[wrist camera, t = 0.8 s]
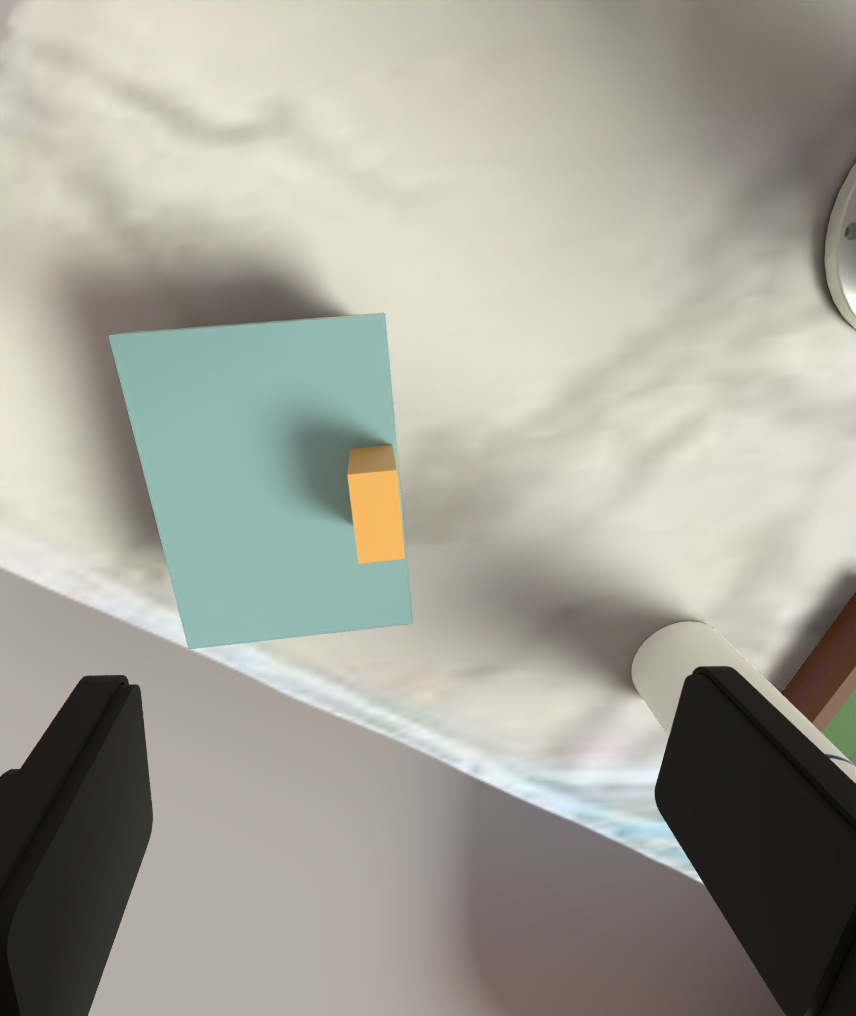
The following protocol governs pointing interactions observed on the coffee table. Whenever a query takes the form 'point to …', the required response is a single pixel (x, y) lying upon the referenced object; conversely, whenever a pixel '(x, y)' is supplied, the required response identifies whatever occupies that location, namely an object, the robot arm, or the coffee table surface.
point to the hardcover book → (831, 684)
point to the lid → (271, 474)
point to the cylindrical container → (701, 645)
